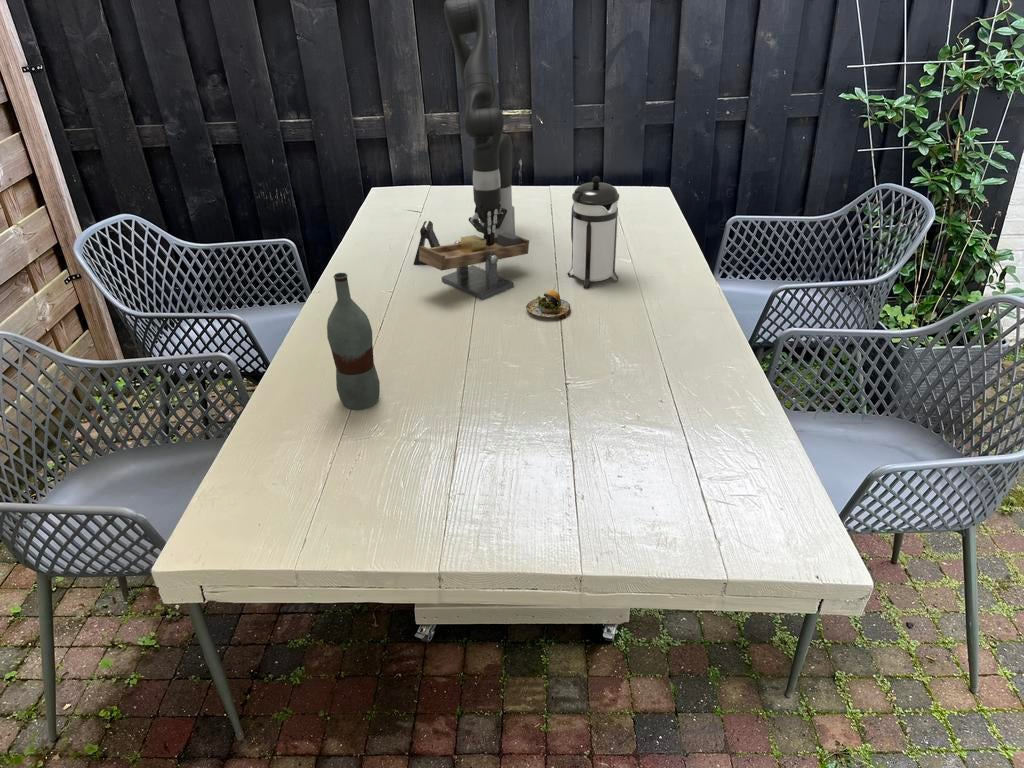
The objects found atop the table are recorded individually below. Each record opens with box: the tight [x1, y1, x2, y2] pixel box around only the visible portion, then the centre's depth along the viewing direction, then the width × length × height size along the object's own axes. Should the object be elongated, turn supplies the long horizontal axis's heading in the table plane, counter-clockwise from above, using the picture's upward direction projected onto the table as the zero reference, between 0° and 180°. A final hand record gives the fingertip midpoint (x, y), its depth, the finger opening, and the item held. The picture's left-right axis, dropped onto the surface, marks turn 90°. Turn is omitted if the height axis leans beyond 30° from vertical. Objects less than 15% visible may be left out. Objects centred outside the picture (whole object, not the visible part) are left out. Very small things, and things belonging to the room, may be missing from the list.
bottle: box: [326, 272, 381, 411], centre depth 156 cm, size 9×9×30 cm
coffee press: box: [567, 175, 620, 290], centre depth 209 cm, size 17×16×30 cm
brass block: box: [460, 234, 486, 254], centre depth 208 cm, size 5×5×4 cm
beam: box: [418, 232, 530, 272], centre depth 209 cm, size 32×10×4 cm, turn 133°
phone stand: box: [413, 220, 441, 266], centre depth 227 cm, size 9×6×12 cm, turn 86°
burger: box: [525, 284, 572, 321], centre depth 197 cm, size 12×12×8 cm
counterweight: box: [497, 232, 523, 247], centre depth 217 cm, size 4×6×3 cm, turn 43°
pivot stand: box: [441, 240, 515, 301], centre depth 212 cm, size 12×18×11 cm, turn 43°
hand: (489, 244), depth 212 cm, fingers closed
